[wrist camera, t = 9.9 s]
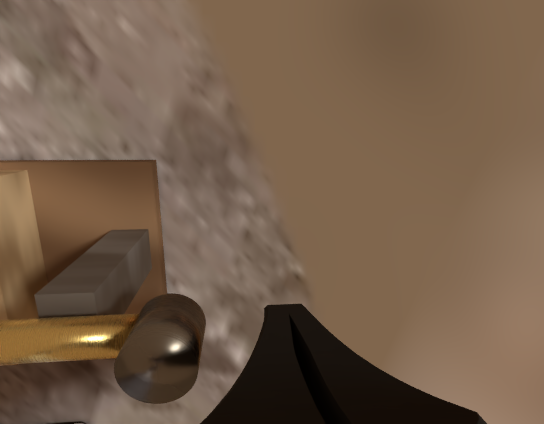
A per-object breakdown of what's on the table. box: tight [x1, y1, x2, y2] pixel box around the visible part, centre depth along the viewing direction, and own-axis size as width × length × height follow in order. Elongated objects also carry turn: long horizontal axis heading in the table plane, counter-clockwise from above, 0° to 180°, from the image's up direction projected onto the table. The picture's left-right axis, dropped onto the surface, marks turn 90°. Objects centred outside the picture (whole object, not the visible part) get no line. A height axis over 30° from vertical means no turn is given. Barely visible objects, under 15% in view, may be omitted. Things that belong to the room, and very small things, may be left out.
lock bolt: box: [0, 294, 206, 404], centre depth 11 cm, size 2×9×2 cm, turn 90°
